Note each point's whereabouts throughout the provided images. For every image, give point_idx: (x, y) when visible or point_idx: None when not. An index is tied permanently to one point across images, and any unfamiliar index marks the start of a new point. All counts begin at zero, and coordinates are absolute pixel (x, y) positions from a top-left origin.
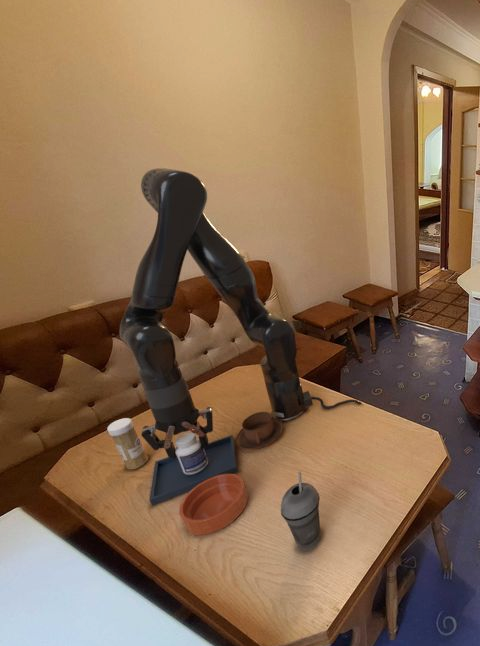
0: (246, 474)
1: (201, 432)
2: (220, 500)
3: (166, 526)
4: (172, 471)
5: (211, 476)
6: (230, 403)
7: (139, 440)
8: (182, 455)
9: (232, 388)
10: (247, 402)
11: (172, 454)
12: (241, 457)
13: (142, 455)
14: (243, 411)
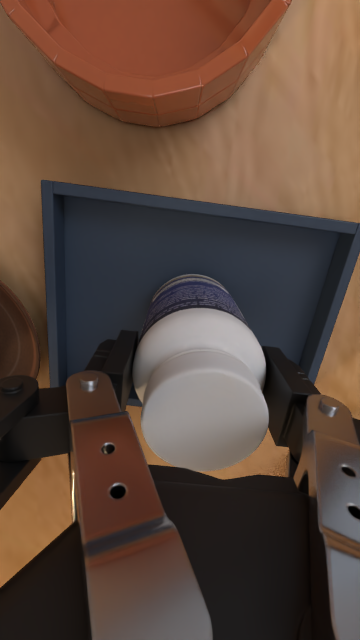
0: (21, 138)
1: (78, 399)
2: (133, 20)
3: (341, 49)
4: None
5: (145, 194)
6: None
7: None
8: (238, 322)
9: None
10: (14, 525)
11: (282, 360)
12: (39, 267)
13: None
14: (27, 495)
